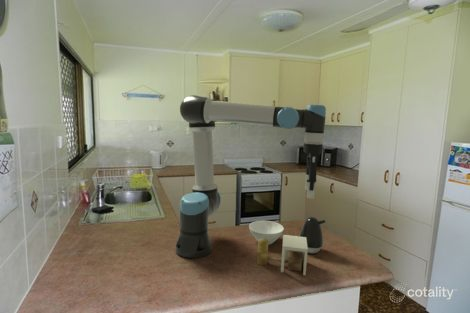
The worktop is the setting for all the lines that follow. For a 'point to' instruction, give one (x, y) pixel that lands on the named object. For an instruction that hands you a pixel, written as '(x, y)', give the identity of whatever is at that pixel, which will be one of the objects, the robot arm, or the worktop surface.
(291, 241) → the cream u-shaped stand
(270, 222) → the bowl
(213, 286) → the worktop surface
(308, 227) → the pump dispenser
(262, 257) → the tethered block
